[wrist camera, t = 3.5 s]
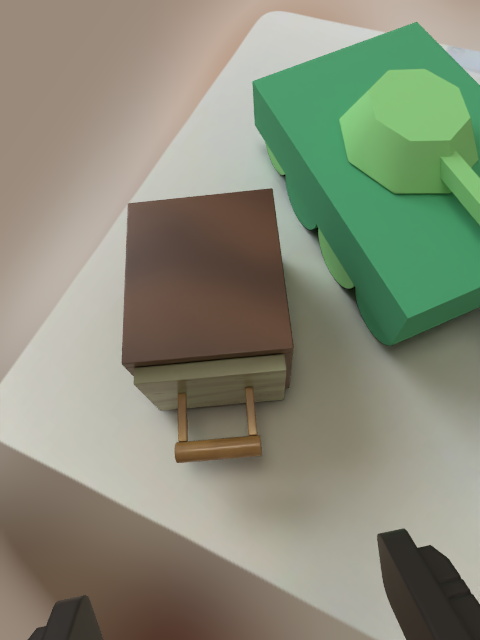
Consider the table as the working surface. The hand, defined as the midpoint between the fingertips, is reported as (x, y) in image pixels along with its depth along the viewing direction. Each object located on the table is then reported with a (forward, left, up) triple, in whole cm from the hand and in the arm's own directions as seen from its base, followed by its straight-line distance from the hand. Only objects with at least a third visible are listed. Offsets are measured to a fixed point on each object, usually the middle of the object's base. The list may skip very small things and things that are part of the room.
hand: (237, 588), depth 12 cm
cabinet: (-17, +9, -23) cm, 30 cm away
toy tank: (-12, +29, -24) cm, 39 cm away
